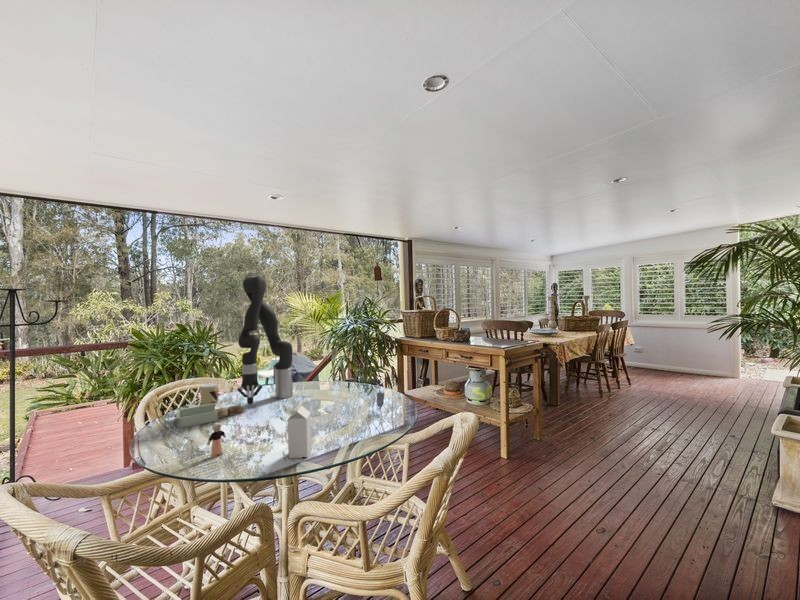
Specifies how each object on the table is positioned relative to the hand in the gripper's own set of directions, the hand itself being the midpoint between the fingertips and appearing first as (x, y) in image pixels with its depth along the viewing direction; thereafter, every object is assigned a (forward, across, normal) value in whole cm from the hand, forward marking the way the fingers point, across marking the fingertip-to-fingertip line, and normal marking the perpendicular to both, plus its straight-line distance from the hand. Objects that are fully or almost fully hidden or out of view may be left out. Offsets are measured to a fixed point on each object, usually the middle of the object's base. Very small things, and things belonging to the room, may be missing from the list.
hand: (250, 404), depth 190 cm
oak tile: (+4, +14, 0) cm, 15 cm away
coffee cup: (+3, +18, -20) cm, 27 cm away
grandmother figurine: (+4, +19, +50) cm, 53 cm away
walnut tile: (+3, +7, 0) cm, 8 cm away
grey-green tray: (+3, +25, +1) cm, 25 cm away
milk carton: (+4, -8, +67) cm, 68 cm away
